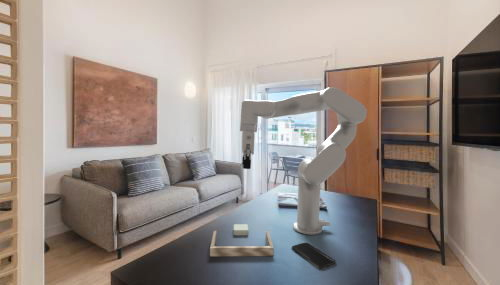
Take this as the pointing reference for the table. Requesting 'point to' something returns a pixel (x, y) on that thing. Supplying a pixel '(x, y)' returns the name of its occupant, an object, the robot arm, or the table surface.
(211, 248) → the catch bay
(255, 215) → the table surface
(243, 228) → the sage tile
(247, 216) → the table surface
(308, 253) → the phone
